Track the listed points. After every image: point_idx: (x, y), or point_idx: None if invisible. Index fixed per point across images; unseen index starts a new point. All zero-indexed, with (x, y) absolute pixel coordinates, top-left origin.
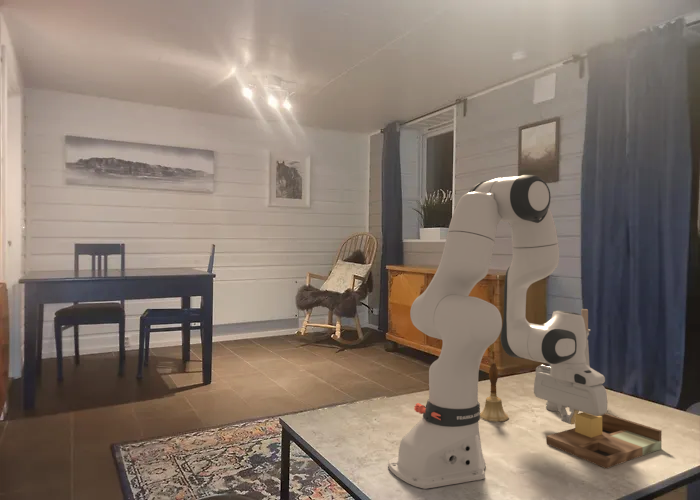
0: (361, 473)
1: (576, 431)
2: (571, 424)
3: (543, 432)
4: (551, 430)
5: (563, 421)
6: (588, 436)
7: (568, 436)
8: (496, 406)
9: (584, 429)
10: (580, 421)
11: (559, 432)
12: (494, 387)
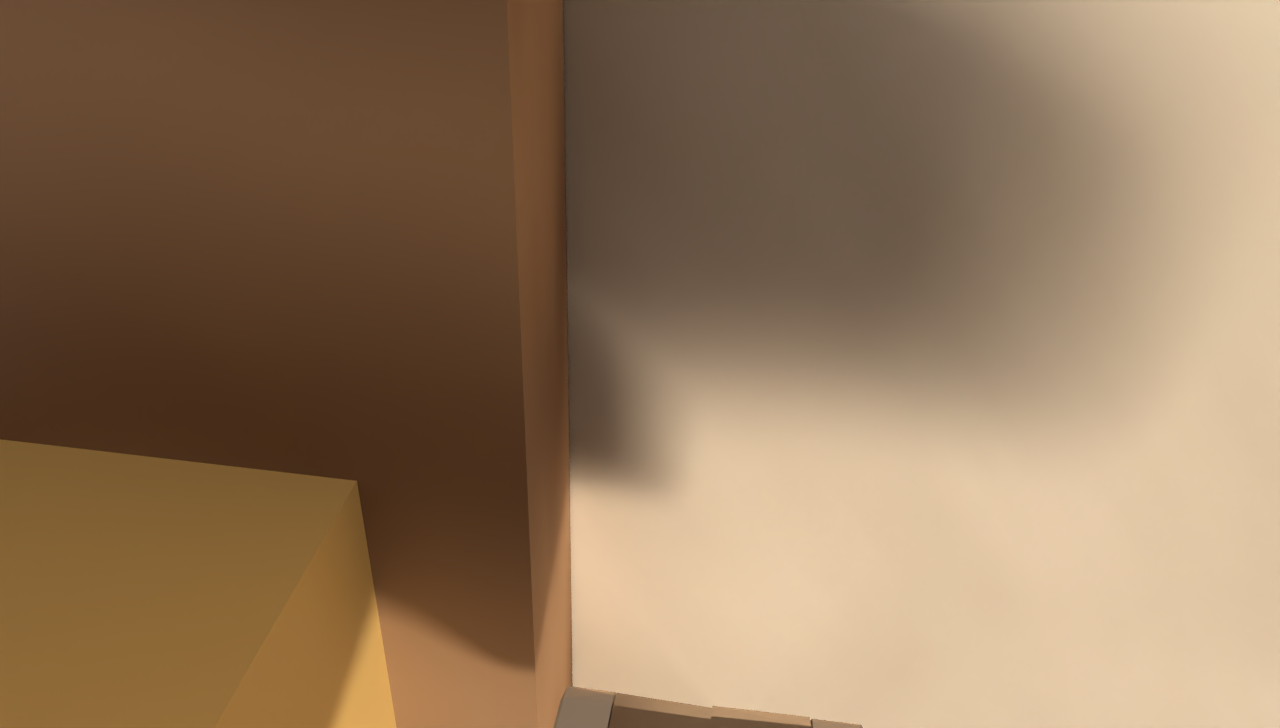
0: None
1: (310, 486)
2: (569, 690)
3: (1160, 173)
4: (1066, 437)
5: (802, 718)
6: (9, 444)
7: (136, 39)
8: None
9: (14, 547)
10: (10, 718)
11: (499, 108)
12: None
